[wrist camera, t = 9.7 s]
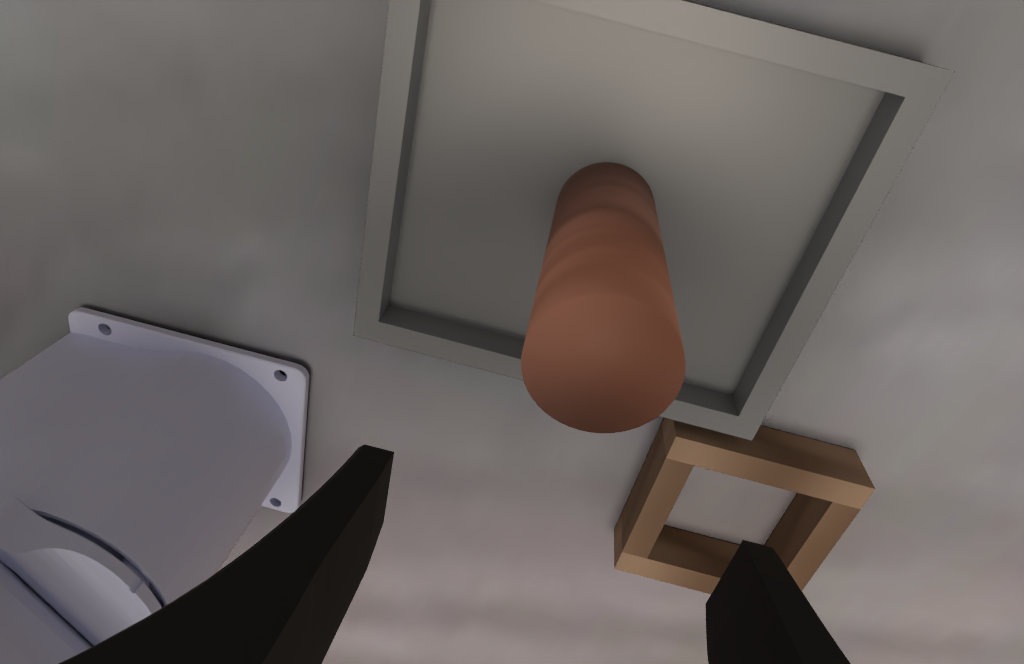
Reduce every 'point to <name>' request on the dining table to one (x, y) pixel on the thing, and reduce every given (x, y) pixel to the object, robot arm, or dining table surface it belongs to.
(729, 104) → the tray
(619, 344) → the dowel
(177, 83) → the dining table surface
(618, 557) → the collar
